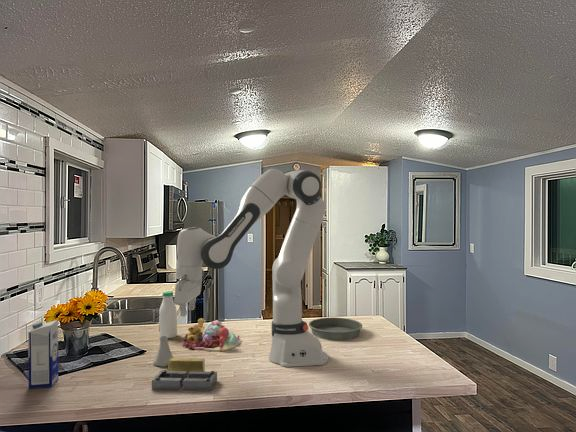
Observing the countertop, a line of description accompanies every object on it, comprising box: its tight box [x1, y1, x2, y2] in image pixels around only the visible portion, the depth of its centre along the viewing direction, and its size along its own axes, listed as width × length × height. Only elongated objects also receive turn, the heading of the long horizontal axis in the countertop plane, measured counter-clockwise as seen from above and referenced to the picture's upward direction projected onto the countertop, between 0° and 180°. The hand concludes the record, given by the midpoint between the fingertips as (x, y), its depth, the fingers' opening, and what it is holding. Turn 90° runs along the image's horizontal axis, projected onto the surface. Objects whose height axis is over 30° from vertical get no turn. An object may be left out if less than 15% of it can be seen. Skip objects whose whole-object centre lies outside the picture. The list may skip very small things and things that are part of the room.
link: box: [151, 369, 188, 391], centre depth 140 cm, size 9×8×3 cm
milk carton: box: [27, 319, 59, 389], centre depth 141 cm, size 7×7×20 cm
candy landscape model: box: [181, 317, 242, 353], centre depth 186 cm, size 25×24×9 cm
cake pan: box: [308, 317, 363, 341], centre depth 199 cm, size 25×25×4 cm
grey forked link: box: [182, 370, 218, 392], centre depth 140 cm, size 9×8×3 cm
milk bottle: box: [158, 290, 178, 339], centre depth 194 cm, size 8×8×20 cm
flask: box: [153, 336, 174, 368], centre depth 159 cm, size 7×7×10 cm
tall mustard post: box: [167, 357, 206, 376], centre depth 150 cm, size 12×3×5 cm, turn 87°
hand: (187, 312), depth 152 cm, fingers open, 8 cm apart
